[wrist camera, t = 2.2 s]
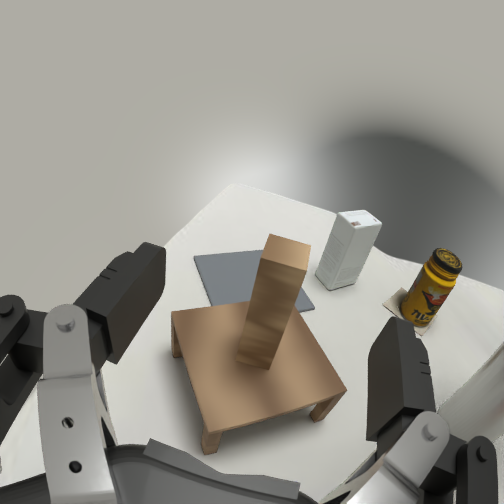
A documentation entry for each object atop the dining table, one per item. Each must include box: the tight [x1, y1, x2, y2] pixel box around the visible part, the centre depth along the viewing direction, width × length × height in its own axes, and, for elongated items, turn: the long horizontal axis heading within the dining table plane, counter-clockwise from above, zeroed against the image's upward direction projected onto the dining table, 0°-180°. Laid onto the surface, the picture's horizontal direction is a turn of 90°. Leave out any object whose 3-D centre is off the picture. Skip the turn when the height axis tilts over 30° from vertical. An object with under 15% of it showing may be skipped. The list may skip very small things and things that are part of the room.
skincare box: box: [315, 210, 382, 290], centre depth 48 cm, size 6×4×12 cm
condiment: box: [383, 248, 462, 336], centre depth 45 cm, size 7×8×12 cm
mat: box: [194, 250, 315, 312], centre depth 48 cm, size 14×14×1 cm
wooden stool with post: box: [171, 234, 347, 455], centre depth 28 cm, size 13×13×19 cm
